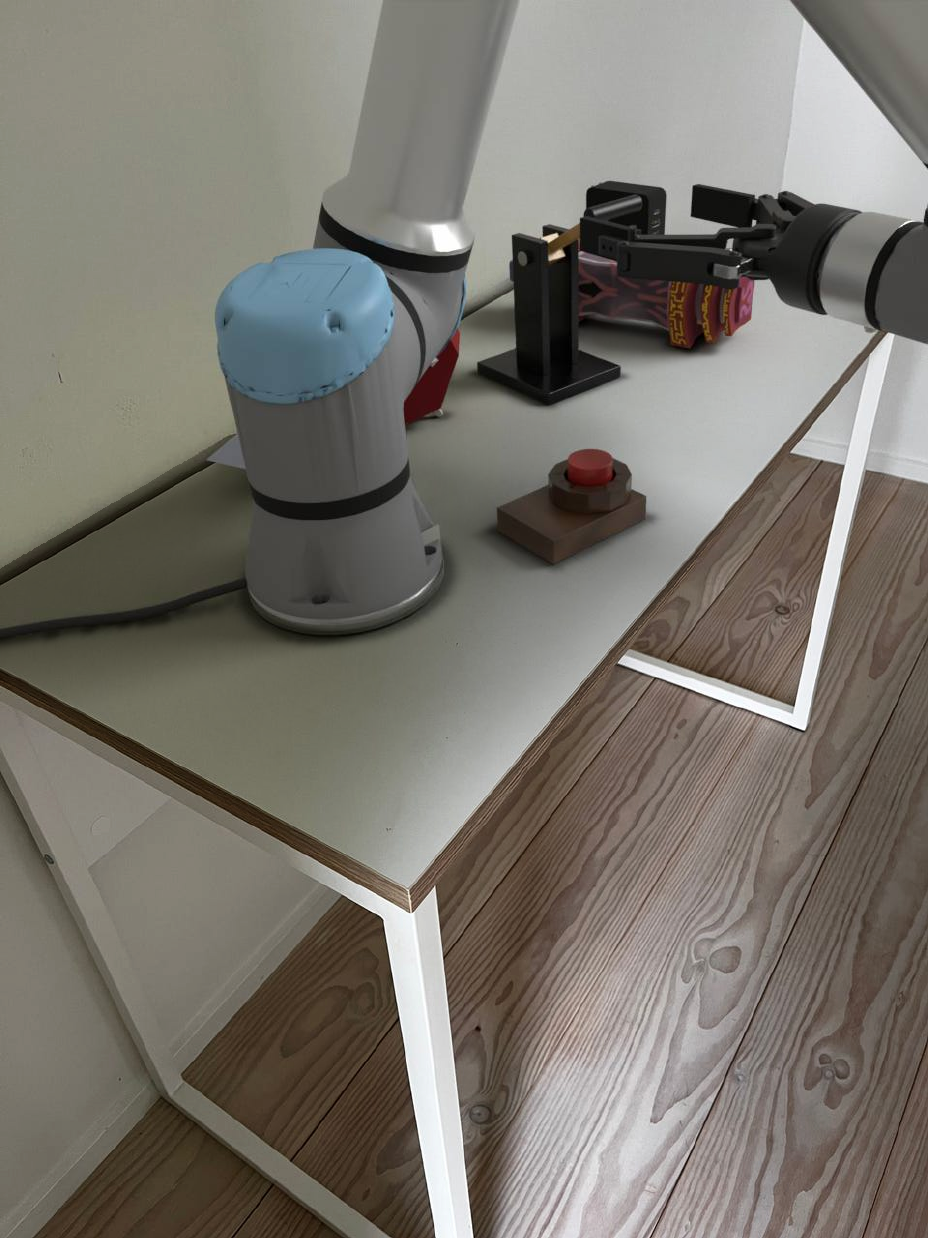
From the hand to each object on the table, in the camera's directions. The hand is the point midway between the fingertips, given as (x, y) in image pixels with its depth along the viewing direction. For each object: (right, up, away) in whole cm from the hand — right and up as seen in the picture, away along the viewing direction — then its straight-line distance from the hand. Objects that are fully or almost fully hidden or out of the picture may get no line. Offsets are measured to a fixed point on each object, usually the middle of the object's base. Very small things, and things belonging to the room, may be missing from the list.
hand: (640, 216), depth 87 cm
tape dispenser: (-31, -22, +6) cm, 38 cm away
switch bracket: (-7, -9, +19) cm, 23 cm away
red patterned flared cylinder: (+3, -1, +30) cm, 30 cm away
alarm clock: (-23, -16, +12) cm, 31 cm away
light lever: (-4, 0, +7) cm, 9 cm away
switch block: (-7, -28, -6) cm, 29 cm away
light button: (-5, -24, -7) cm, 26 cm away
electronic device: (+6, +13, +48) cm, 50 cm away
